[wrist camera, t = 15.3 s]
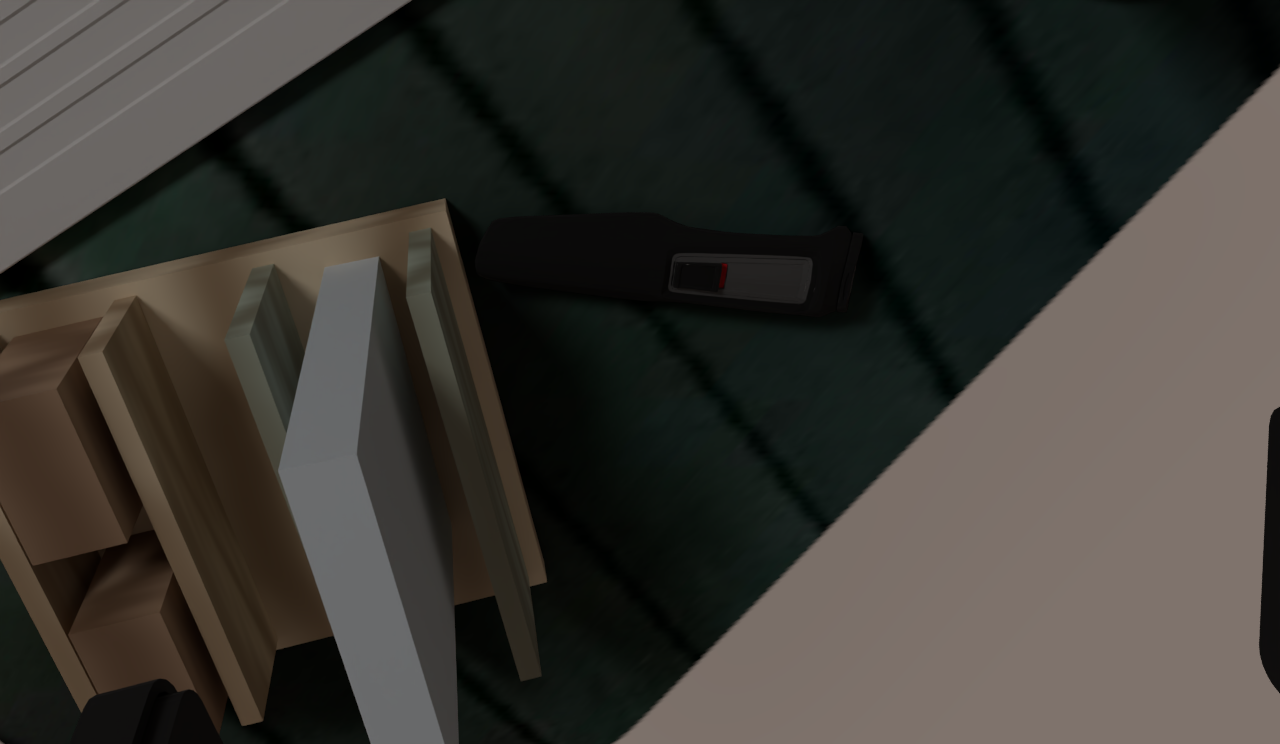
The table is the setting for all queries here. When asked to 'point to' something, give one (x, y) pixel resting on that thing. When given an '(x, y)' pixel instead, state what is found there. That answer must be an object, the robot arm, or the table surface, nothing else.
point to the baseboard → (137, 91)
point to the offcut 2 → (143, 627)
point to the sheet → (374, 511)
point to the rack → (274, 435)
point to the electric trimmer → (672, 262)
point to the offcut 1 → (59, 450)
